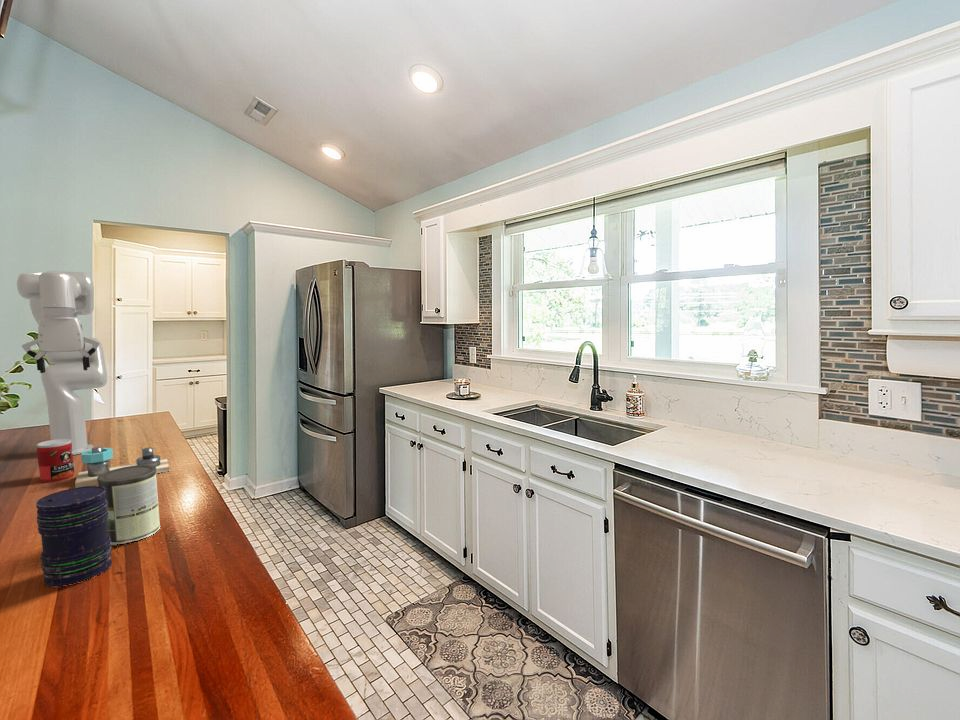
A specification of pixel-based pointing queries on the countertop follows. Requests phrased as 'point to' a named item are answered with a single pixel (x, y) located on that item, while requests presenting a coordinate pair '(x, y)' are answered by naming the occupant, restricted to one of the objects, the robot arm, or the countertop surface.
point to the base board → (88, 481)
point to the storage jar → (74, 535)
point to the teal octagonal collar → (97, 456)
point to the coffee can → (131, 503)
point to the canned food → (55, 460)
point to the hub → (148, 458)
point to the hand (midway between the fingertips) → (64, 371)
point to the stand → (97, 465)
